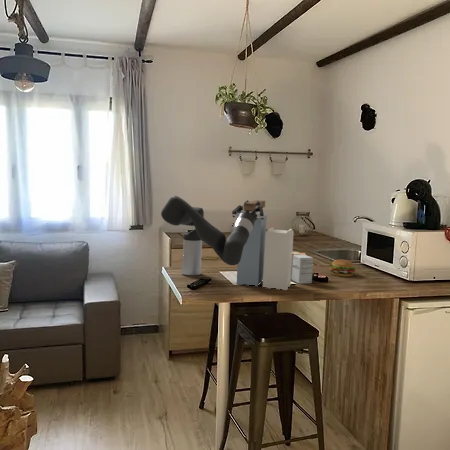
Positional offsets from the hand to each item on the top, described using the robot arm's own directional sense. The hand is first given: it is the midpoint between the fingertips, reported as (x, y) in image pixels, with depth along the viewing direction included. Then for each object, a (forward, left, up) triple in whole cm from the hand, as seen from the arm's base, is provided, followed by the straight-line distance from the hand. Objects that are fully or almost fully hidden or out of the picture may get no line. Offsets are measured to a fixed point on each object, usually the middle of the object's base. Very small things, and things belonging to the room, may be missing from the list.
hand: (253, 202), depth 204 cm
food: (+51, +46, -39) cm, 79 cm away
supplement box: (+26, +24, -39) cm, 53 cm away
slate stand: (+1, +17, -39) cm, 42 cm away
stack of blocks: (+19, +36, -39) cm, 56 cm away
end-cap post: (+13, +12, -39) cm, 43 cm away
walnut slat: (+1, +4, -3) cm, 5 cm away
